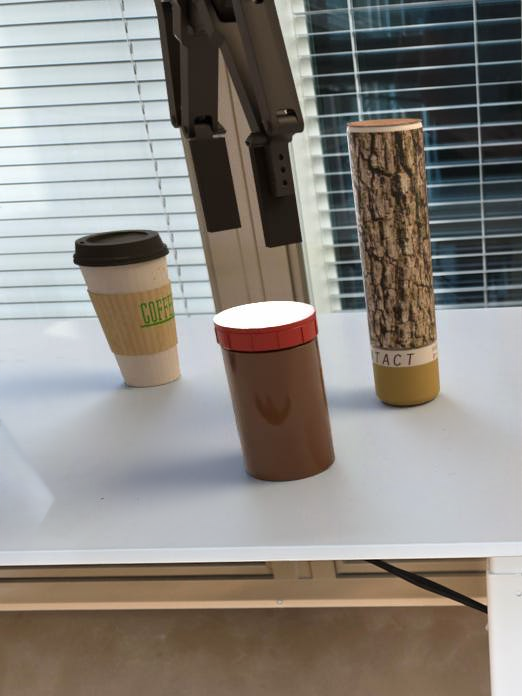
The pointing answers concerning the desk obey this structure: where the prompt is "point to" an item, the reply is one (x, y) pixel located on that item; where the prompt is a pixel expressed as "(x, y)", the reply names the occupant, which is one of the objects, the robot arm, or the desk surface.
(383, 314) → the paper tube
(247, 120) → the robot arm
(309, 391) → the jar
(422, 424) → the desk surface
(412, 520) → the desk surface
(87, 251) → the coffee cup
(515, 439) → the desk surface
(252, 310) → the lid
